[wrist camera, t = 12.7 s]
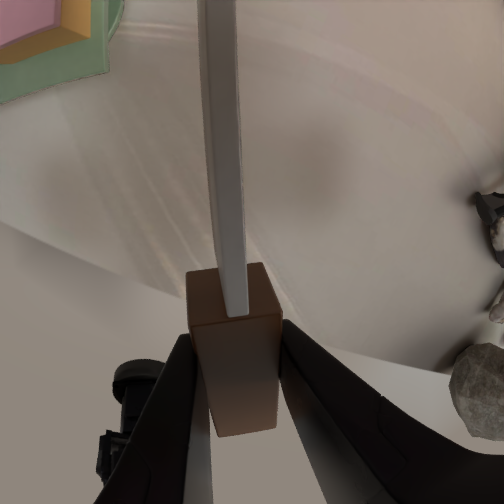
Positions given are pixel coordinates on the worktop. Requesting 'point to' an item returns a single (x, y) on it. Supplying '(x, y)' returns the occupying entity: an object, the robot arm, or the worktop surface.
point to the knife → (490, 206)
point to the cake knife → (231, 255)
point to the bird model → (498, 239)
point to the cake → (41, 26)
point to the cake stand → (65, 57)
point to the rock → (480, 390)
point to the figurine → (498, 312)
